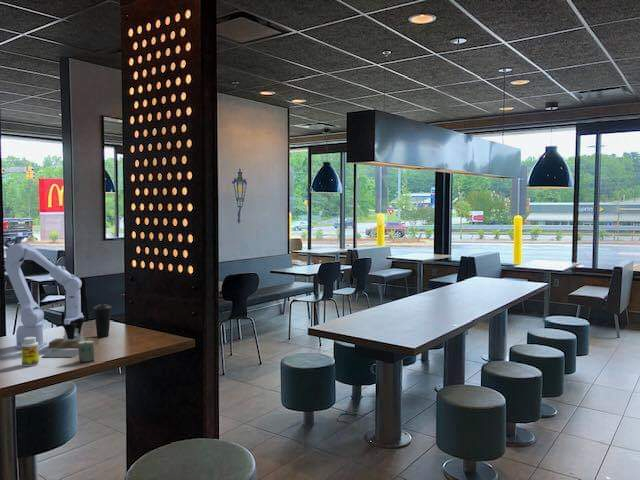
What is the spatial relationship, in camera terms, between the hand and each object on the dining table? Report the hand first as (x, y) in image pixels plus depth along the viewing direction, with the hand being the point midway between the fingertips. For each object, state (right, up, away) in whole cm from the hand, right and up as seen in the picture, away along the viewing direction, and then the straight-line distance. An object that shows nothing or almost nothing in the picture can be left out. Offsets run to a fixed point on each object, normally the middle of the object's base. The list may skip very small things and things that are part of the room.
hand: (73, 337), depth 229 cm
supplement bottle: (-3, -5, -28) cm, 29 cm away
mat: (+2, -4, -14) cm, 14 cm away
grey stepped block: (0, -1, 0) cm, 1 cm away
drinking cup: (+6, -3, +16) cm, 17 cm away
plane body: (0, -3, 0) cm, 3 cm away
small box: (+15, -5, -23) cm, 28 cm away
